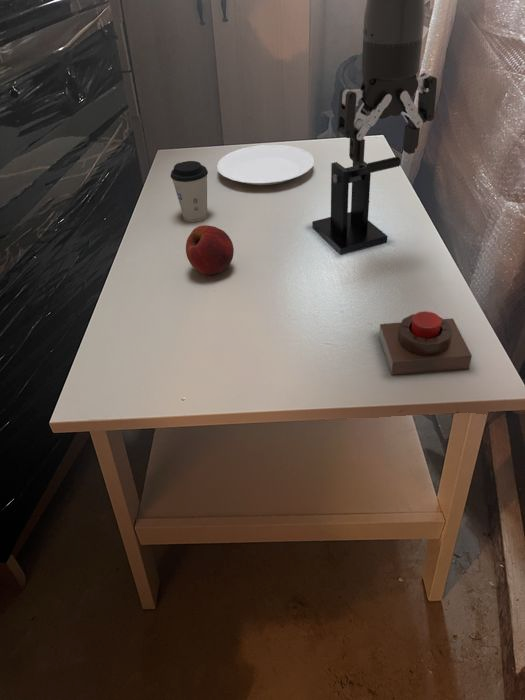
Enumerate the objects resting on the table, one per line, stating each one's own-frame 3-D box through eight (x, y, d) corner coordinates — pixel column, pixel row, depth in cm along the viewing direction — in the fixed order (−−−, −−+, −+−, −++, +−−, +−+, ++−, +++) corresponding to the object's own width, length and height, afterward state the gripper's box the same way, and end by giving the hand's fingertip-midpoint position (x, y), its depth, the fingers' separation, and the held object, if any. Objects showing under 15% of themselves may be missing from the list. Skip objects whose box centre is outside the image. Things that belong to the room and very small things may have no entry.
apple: (185, 264, 99) (177, 221, 94) (229, 254, 101) (224, 212, 96) (194, 286, 94) (187, 242, 89) (240, 276, 95) (236, 232, 90)
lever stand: (387, 242, 101) (393, 170, 93) (340, 254, 99) (342, 182, 91) (355, 216, 109) (358, 148, 101) (312, 227, 107) (311, 158, 99)
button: (435, 321, 77) (437, 310, 76) (443, 337, 74) (445, 326, 73) (408, 323, 77) (409, 312, 76) (415, 340, 74) (416, 329, 73)
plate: (215, 159, 135) (214, 149, 133) (305, 150, 136) (305, 140, 134) (220, 198, 118) (219, 187, 117) (323, 187, 120) (323, 176, 118)
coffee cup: (217, 208, 115) (211, 158, 109) (208, 225, 110) (201, 174, 103) (183, 207, 116) (175, 158, 110) (172, 224, 111) (163, 173, 105)
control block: (450, 330, 81) (454, 307, 79) (469, 368, 75) (474, 344, 72) (378, 336, 81) (380, 313, 79) (391, 375, 75) (393, 351, 72)
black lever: (402, 168, 87) (399, 152, 86) (372, 175, 85) (369, 159, 85) (361, 180, 99) (358, 165, 99) (335, 186, 98) (332, 171, 97)
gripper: (358, 48, 71) (352, 176, 81) (457, 32, 75) (440, 156, 85) (329, 37, 76) (328, 158, 87) (423, 22, 80) (411, 140, 90)
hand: (383, 157), depth 86 cm, fingers open, 8 cm apart
